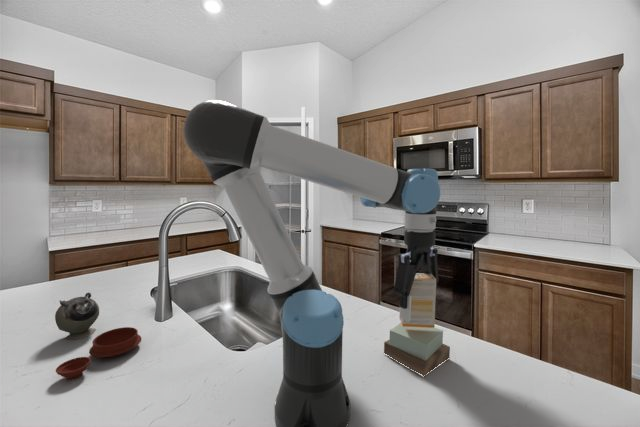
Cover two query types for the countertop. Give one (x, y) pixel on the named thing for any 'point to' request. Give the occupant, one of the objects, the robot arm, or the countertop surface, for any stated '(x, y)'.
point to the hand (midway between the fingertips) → (416, 314)
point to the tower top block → (416, 340)
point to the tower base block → (415, 362)
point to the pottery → (101, 350)
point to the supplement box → (422, 301)
